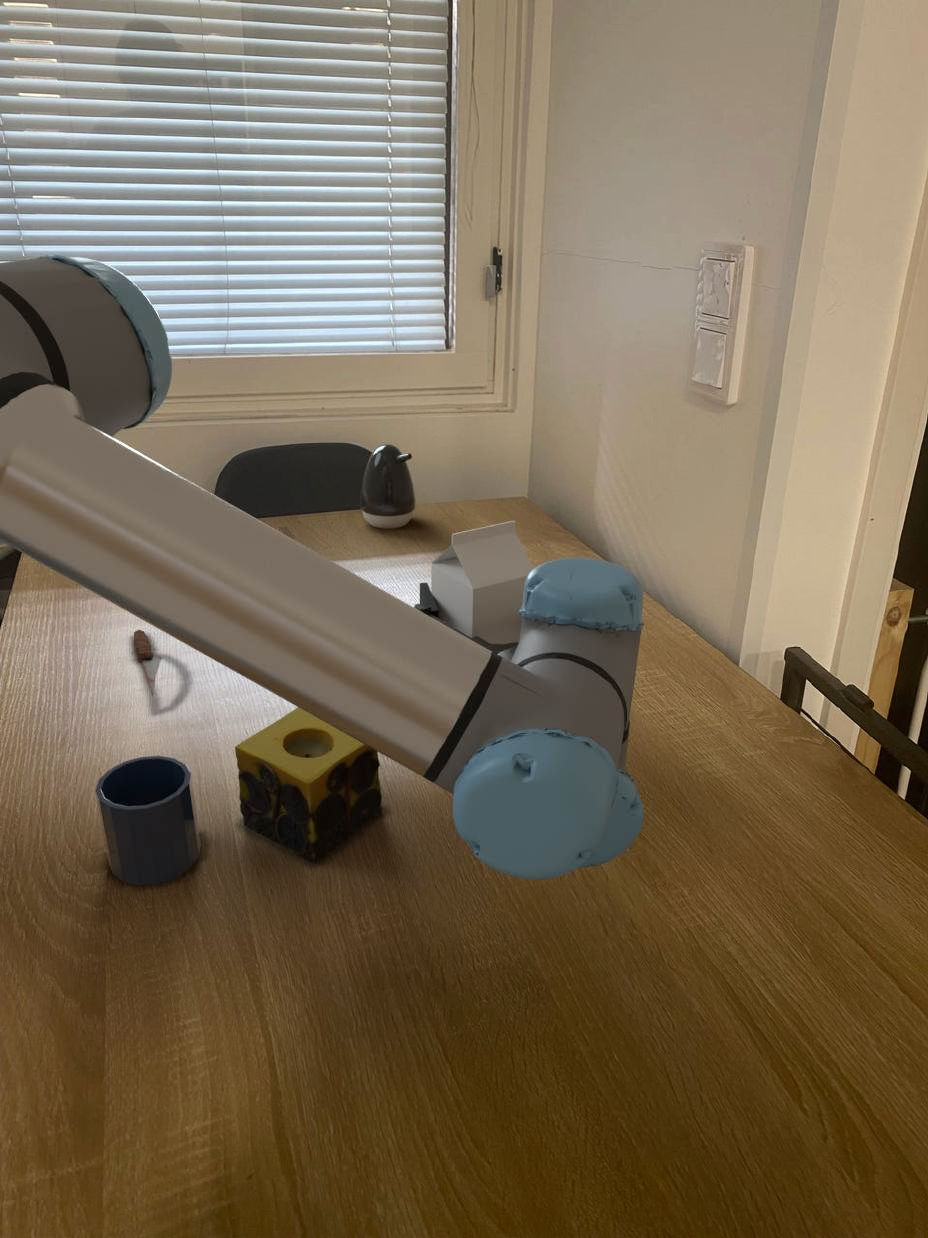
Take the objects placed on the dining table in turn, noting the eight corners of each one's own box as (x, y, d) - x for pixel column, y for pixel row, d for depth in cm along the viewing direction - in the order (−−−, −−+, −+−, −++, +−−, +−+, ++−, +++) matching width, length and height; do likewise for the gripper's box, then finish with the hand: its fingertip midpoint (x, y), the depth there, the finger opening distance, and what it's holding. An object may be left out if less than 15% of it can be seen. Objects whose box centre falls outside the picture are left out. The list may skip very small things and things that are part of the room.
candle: (312, 779, 97) (307, 699, 92) (385, 815, 92) (383, 732, 87) (239, 829, 89) (230, 743, 85) (314, 871, 84) (308, 783, 80)
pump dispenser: (394, 539, 162) (393, 455, 155) (349, 527, 167) (346, 445, 160) (427, 523, 169) (427, 443, 163) (383, 512, 174) (381, 434, 168)
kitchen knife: (195, 704, 109) (151, 708, 107) (195, 716, 109) (151, 720, 107) (169, 626, 126) (131, 627, 123) (169, 636, 126) (131, 638, 124)
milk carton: (528, 711, 91) (539, 531, 83) (469, 731, 87) (474, 546, 79) (487, 681, 96) (493, 509, 88) (430, 699, 92) (430, 522, 84)
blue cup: (93, 881, 82) (76, 800, 78) (141, 826, 89) (128, 750, 85) (173, 897, 81) (160, 816, 77) (215, 840, 88) (206, 763, 84)
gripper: (392, 761, 71) (363, 633, 91) (656, 735, 75) (573, 618, 95) (391, 677, 68) (361, 563, 87) (667, 655, 72) (579, 551, 91)
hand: (472, 592), depth 91 cm, fingers closed on milk carton, 9 cm apart
